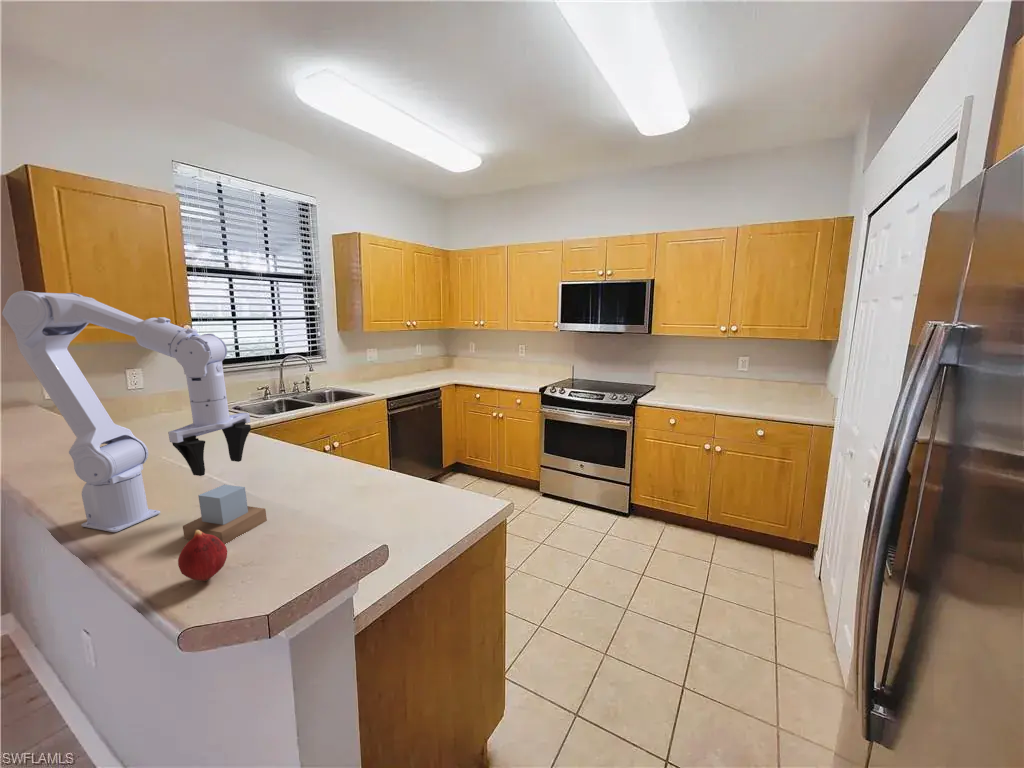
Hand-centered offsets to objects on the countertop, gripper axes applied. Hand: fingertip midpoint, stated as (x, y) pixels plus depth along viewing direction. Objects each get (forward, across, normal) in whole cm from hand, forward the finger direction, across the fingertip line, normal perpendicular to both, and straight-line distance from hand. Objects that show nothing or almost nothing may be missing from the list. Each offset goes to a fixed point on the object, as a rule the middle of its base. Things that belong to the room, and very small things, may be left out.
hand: (218, 467), depth 82 cm
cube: (+7, -4, -6) cm, 10 cm away
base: (+10, -4, -6) cm, 13 cm away
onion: (+10, -17, -17) cm, 26 cm away
